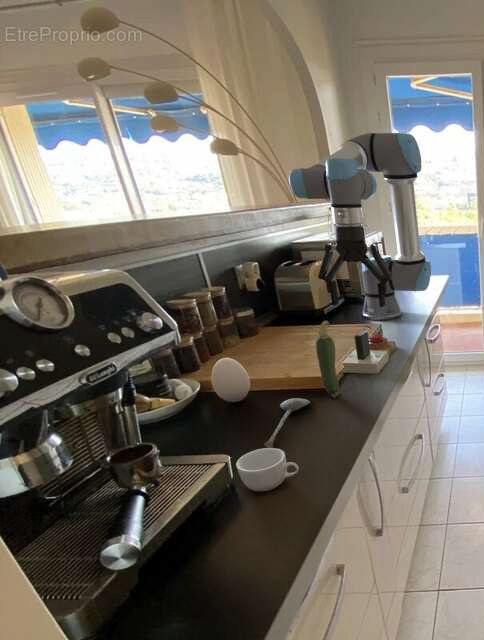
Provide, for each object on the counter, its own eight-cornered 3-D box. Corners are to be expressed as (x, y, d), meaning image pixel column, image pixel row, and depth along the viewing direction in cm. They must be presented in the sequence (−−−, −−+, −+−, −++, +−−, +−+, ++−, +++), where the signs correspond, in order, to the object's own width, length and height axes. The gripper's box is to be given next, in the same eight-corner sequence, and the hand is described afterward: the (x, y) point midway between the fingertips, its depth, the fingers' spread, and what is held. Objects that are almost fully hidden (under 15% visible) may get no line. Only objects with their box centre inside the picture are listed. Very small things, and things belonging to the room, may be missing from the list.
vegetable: (321, 398, 113) (307, 322, 105) (331, 391, 117) (318, 317, 108) (336, 400, 113) (323, 323, 104) (346, 393, 116) (334, 318, 108)
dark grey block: (364, 353, 135) (361, 330, 132) (370, 353, 135) (367, 330, 132) (357, 359, 130) (354, 335, 127) (364, 359, 130) (361, 335, 127)
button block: (369, 346, 149) (368, 335, 147) (396, 347, 149) (394, 336, 147) (359, 357, 140) (357, 345, 138) (387, 358, 140) (385, 346, 138)
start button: (372, 339, 145) (371, 333, 144) (384, 339, 145) (384, 333, 144) (368, 343, 141) (367, 337, 140) (381, 343, 141) (380, 337, 140)
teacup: (235, 498, 78) (227, 472, 75) (254, 472, 85) (247, 448, 82) (294, 496, 78) (288, 470, 76) (308, 470, 85) (303, 446, 83)
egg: (247, 391, 117) (236, 350, 112) (259, 400, 112) (248, 358, 107) (213, 401, 112) (200, 358, 107) (224, 411, 107) (211, 367, 102)
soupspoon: (315, 403, 112) (288, 405, 112) (312, 391, 111) (285, 393, 110) (285, 447, 92) (252, 450, 92) (281, 433, 91) (247, 436, 90)
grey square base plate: (354, 358, 139) (352, 349, 138) (388, 360, 138) (387, 350, 137) (340, 372, 129) (338, 362, 128) (377, 373, 128) (376, 363, 127)
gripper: (296, 225, 114) (310, 307, 124) (391, 227, 113) (398, 309, 122) (309, 223, 121) (322, 301, 130) (399, 224, 120) (405, 303, 129)
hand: (359, 305), depth 126 cm, fingers open, 13 cm apart
